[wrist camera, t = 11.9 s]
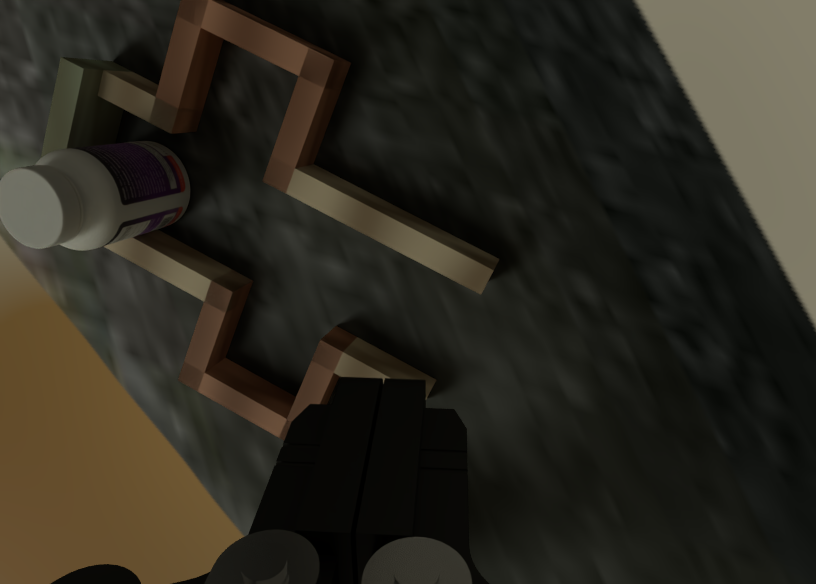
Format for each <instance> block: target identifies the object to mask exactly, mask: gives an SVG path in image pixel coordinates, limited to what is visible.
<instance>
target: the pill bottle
mask: <svg viewBox="0 0 816 584" xmlns="http://www.w3.org/2000/svg"><path fill="white" fill-rule="evenodd" d="M189 200H190V182H189V178H188V174H187V171H186V169H185V167H184V165H183V164H182V162H181V160H180V159H179V158H178V157H177V156H176V154H175V153H173V152H172V151H171V150H170V149H168V148H167V147H165V146H163V145H161V144H159V143H156V142H152V141H134V142H125V143H116V144H107V145H97V146H87V147H76V148H67V149H60V150H55V151H52V152H50V153H48V154H46V155H45V156H43V157H42V158H41V159H40V160H39V161H38V162H37V163H36V164H35V165H33V166H28V167H21V168H16V169H13V170H11V171H9V172H7V173H6V174H5V175H4V176H3V177H2V179H1V181H0V218H1V220H2V222H3V224H4V226H5V228H6V229H7V230H8V232H9V233H10V234H11V235H12V236H13V237H14V238H15V239H16V240H17V241H19V242H20V243H22V244H24V245H25V246H28V247H31V248H37V249H41V248H47V247H51V246H55V245H58V244H60V245H62V246H64V247H67V248H69V249H74V250H91V249H95V248H100V247H103V246H106V245H109V244H112V243H115V242H119V241H122V240H125V239H128V238H132V237H135V236H138V235H141V234H144V233H148V232H151V231H154V230H157V229H160V228H163V227H166V226H169V225H171V224H173V223H175V222H176V221H177V220H179V219H180V218H181V217H182V215H183V214H184V212H185V211H186V209H187V206H188V204H189Z"/></svg>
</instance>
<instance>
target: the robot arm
mask: <svg viewBox="0 0 816 584" xmlns="http://www.w3.org/2000/svg"><path fill="white" fill-rule="evenodd" d="M51 584H141V582H140V580H139V579H138V577H137V576H136V575H135V574H134V573H133V572H132V571H130V570H128V569H126V568H125V567H121V566H118V565H109V564H104V565H94V566H88V567H85V568H82V569H78V570H76V571H73V572H71V573H69V574H67V575H65V576H63V577H61V578H59V579H58V580H56V581H54V582H53V583H51ZM173 584H489V583H488V582H487V581H486V580H485V579H484V578H483V577H482V576H481V574H480V573H479V572H478V570H477V569H476V567H475V565H474V563H473V561H472V558H471V555H470V550H469V525H468V474H467V428H466V427H465V425H464V424H463V422H462V421H461V419H460V418H459V416H458V414H457V413H456V411H455V410H454V409H435V408H426V380H424V379H396V378H385V380H384V384H383V379H382V378H364V377H341V379H340V381H339V384H338V388H337V391H336V394H335V398H334V401H333V404H332V405H328V404H309V405H308V406H307V407H306V408H305V409H304V410H303V411H302V412H301V413H300V414H299V415H298V416H297V417H296V418H295V419H294V420H293V421H292V422H291V424H290V427H289V429H288V432H287V435H286V437H285V440H284V443H283V447H282V448H281V450H280V453H279V456H278V458H277V463H276V466H274V469H273V471H272V474H271V477H270V479H269V482H268V484H267V487H266V490H265V492H264V495H263V497H262V500H261V503H260V505H259V508H258V511H257V513H256V516H255V518H254V521H253V524H252V526H251V529H250V531H249V534H248V535H247V536H245V537H243V538H241V539H239V540H238V541H236V542H235V543H233V544H232V545H230V546H229V547H228V548H227V549H226V550H225V551H224V552H223V553H222V554H221V555H220V556H219V558H218V559H217V561H216V563H215V564H214V566H213V568H212V570H211V571H210V572H209V573H207V574H204V575H202V576H199V577H197V578H193V579H190V580H186V581H181V582H177V583H173Z"/></svg>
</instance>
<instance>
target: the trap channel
mask: <svg viewBox="0 0 816 584" xmlns="http://www.w3.org/2000/svg"><path fill="white" fill-rule="evenodd" d="M224 39H225V40H227V41H229V42H231V43H233V44H235V45H237V46H239V47H241V48H243V49H245V50H247V51H249V52H251V53H253V54H255V55H257V56H259V57H261V58H263V59H265V60H267V61H269V62H271V63H273V64H275V65H277V66H279V67H281V68H283V69H285V70H287V71H290V72H292V73H294V74H296V75H298V76H299V77H298V80H297V83H296V86H295V89H294V92H293V94H292V97H291V100H290V103H289V106H288V109H287V112H286V115H285V118H284V121H283V123H282V126H281V129H280V132H279V135H278V138H277V141H276V144H275V147H274V149H273V152H272V155H271V158H270V161H269V164H268V167H267V170H266V173H265V176H264V178H263V182H265V183H267V184H269V185H271V186H273V187H275V188H276V189H278V190H280V191H282V192H284V193H286V194H288V195H290V196H292V197H294V198H296V199H298V200H300V201H302V202H303V203H305V204H307V205H309V206H311V207H313V208H315V209H317V210H319V211H321V212H323V213H325V214H327V215H329V216H330V217H332V218H334V219H336V220H338V221H340V222H342V223H344V224H346V225H348V226H350V227H352V228H354V229H355V230H357V231H359V232H361V233H363V234H365V235H367V236H369V237H371V238H373V239H375V240H377V241H379V242H381V243H382V244H384V245H386V246H388V247H390V248H392V249H394V250H396V251H398V252H400V253H402V254H404V255H406V256H408V257H409V258H411V259H413V260H415V261H417V262H419V263H421V264H423V265H425V266H427V267H429V268H431V269H433V270H434V271H436V272H438V273H440V274H442V275H444V276H446V277H448V278H450V279H452V280H454V281H456V282H458V283H460V284H461V285H463V286H465V287H467V288H469V289H471V290H473V291H475V292H477V293H479V294H482V292H483V290H484V288H485V286H486V284H487V282H488V281H489V279H490V277H491V275H492V273H493V271H494V269H495V267H496V265H497V263H498V261H499V260H500V259H498V258H496V257H494V256H492V255H490V254H488V253H487V252H485V251H483V250H481V249H479V248H477V247H475V246H473V245H471V244H469V243H467V242H465V241H463V240H461V239H459V238H457V237H455V236H453V235H451V234H449V233H447V232H445V231H443V230H441V229H440V228H438V227H436V226H434V225H432V224H430V223H428V222H426V221H424V220H422V219H420V218H418V217H416V216H414V215H412V214H410V213H408V212H406V211H404V210H402V209H400V208H398V207H396V206H394V205H392V204H391V203H389V202H387V201H385V200H383V199H381V198H379V197H377V196H375V195H373V194H371V193H369V192H367V191H365V190H363V189H361V188H359V187H357V186H355V185H353V184H351V183H349V182H347V181H345V180H344V179H342V178H340V177H338V176H336V175H334V174H332V173H330V172H328V171H326V170H324V169H322V168H320V167H318V166H316V165H314V161H315V159H316V156H317V153H318V150H319V148H320V145H321V142H322V140H323V137H324V134H325V132H326V129H327V126H328V124H329V121H330V118H331V116H332V113H333V110H334V108H335V105H336V102H337V100H338V97H339V94H340V92H341V89H342V86H343V84H344V81H345V78H346V76H347V73H348V70H349V68H350V65H351V62H349V61H347V60H345V59H342V58H340V57H338V56H336V55H334V54H332V53H330V52H328V51H326V50H324V49H322V48H320V47H318V46H316V45H314V44H312V43H310V42H308V41H305V40H303V39H301V38H299V37H297V36H295V35H293V34H291V33H289V32H287V31H285V30H283V29H281V28H279V27H277V26H275V25H273V24H271V23H269V22H266V21H264V20H262V19H260V18H258V17H256V16H254V15H252V14H250V13H248V12H246V11H244V10H242V9H240V8H238V7H236V6H234V5H232V4H229V3H227V2H225V1H223V0H181V2H180V6H179V9H178V13H177V17H176V21H175V25H174V28H173V32H172V36H171V40H170V44H169V48H168V51H167V55H166V59H165V63H164V67H163V70H162V74H161V78H160V82H159V85H157V84H155V83H153V82H152V81H150V80H148V79H146V78H144V77H142V76H140V75H138V74H136V73H134V72H132V71H130V70H128V69H126V68H124V67H122V66H120V65H118V64H116V63H114V62H112V61H102V60H89V59H77V58H65V57H61V59H60V64H59V69H58V74H57V79H56V84H55V89H54V94H53V99H52V104H51V109H50V114H49V119H48V124H47V129H46V134H45V139H44V144H43V149H42V154H41V158H42V157H43V156H45V155H46V154H48V153H50V152H52V151H55V150H60V149H67V148H76V147H87V146H97V145H107V144H115V143H116V139H117V135H118V131H119V127H120V123H121V118H122V114H123V110H126V111H128V112H130V113H132V114H134V115H136V116H138V117H140V118H142V119H144V120H145V121H147V122H149V123H151V124H153V125H155V126H157V127H159V128H161V129H163V130H165V131H167V132H169V133H171V134H176V133H188V132H197V129H198V125H199V122H200V118H201V115H202V112H203V108H204V105H205V101H206V98H207V95H208V91H209V88H210V84H211V81H212V78H213V74H214V71H215V67H216V64H217V60H218V57H219V54H220V50H221V47H222V43H223V40H224ZM104 247H106V248H108V249H109V250H111V251H113V252H115V253H117V254H119V255H120V256H122V257H124V258H126V259H128V260H129V261H131V262H133V263H135V264H137V265H139V266H140V267H142V268H144V269H146V270H148V271H149V272H151V273H153V274H155V275H157V276H159V277H160V278H162V279H164V280H166V281H168V282H170V283H171V284H173V285H175V286H177V287H179V288H180V289H182V290H184V291H186V292H188V293H190V294H191V295H193V296H195V297H197V298H199V299H200V300H202V301H204V304H203V307H202V310H201V313H200V316H199V319H198V322H197V325H196V328H195V331H194V334H193V337H192V340H191V343H190V346H189V349H188V352H187V355H186V358H185V361H184V364H183V367H182V370H181V373H180V376H179V379H178V380H179V381H180V382H182V383H184V384H186V385H187V386H189V387H191V388H193V389H194V390H196V391H198V392H200V393H201V394H203V395H205V396H207V397H208V398H210V399H212V400H214V401H216V402H217V403H219V404H221V405H223V406H224V407H226V408H228V409H230V410H231V411H233V412H235V413H237V414H238V415H240V416H242V417H244V418H245V419H247V420H249V421H251V422H252V423H254V424H256V425H258V426H260V427H261V428H263V429H265V430H267V431H268V432H270V433H272V434H274V435H275V436H277V437H279V438H281V439H282V440H285V437H286V435H287V432H288V429H289V427H290V424H291V422H292V421H293V420H294V419H295V418H296V417H297V416H298V415H299V414H300V413H301V412H302V411H303V410H304V409H305V408H306V407H307V406H308V405H309V404H327V403H328V401H329V399H330V397H331V394H332V392H333V390H334V388H335V386H336V383H337V381H338V379H339V377H340V376H341V377H364V378H382V379H383V384H384V380H385V378H396V379H424V380H426V399H427V397H428V395H429V393H430V391H431V389H432V387H433V385H434V384H435V382H436V379H434V378H432V377H430V376H428V375H427V374H425V373H423V372H421V371H419V370H417V369H415V368H414V367H412V366H410V365H408V364H406V363H404V362H402V361H401V360H399V359H397V358H395V357H393V356H391V355H389V354H388V353H386V352H384V351H382V350H380V349H378V348H377V347H375V346H373V345H371V344H369V343H367V342H365V341H364V340H362V339H360V338H358V337H356V336H354V335H352V334H351V333H349V332H347V331H345V330H343V329H341V328H339V327H338V326H335V327H334V328H333V329H332V330H331V331H330V332H329V333H328V334H326V335H325V336H324V337H323V338H322V339H321V340H320V342H319V345H318V347H317V349H316V352H315V354H314V356H313V359H312V361H311V363H310V366H309V368H308V370H307V373H306V375H305V377H304V380H303V382H302V384H301V387H300V389H299V392H298V394H297V396H296V397H295V396H293V395H291V394H290V393H288V392H286V391H284V390H282V389H281V388H279V387H277V386H275V385H274V384H272V383H270V382H268V381H266V380H265V379H263V378H261V377H259V376H257V375H256V374H254V373H252V372H250V371H248V370H247V369H245V368H243V367H241V366H239V365H238V364H236V363H234V362H232V361H231V360H229V359H227V358H226V355H227V352H228V349H229V347H230V344H231V341H232V338H233V336H234V333H235V330H236V327H237V325H238V322H239V319H240V316H241V314H242V311H243V308H244V305H245V302H246V300H247V297H248V294H249V291H250V289H251V286H252V283H253V281H252V280H251V279H249V278H247V277H245V276H243V275H241V274H239V273H238V272H236V271H234V270H232V269H230V268H228V267H226V266H225V265H223V264H221V263H219V262H217V261H215V260H214V259H212V258H210V257H208V256H206V255H204V254H202V253H201V252H199V251H197V250H195V249H193V248H191V247H189V246H188V245H186V244H184V243H182V242H180V241H178V240H176V239H175V238H173V237H171V236H169V235H167V234H165V233H163V232H162V231H160V230H158V229H157V230H154V231H151V232H148V233H144V234H141V235H138V236H135V237H132V238H128V239H125V240H122V241H119V242H115V243H112V244H109V245H106V246H104Z"/></svg>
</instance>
